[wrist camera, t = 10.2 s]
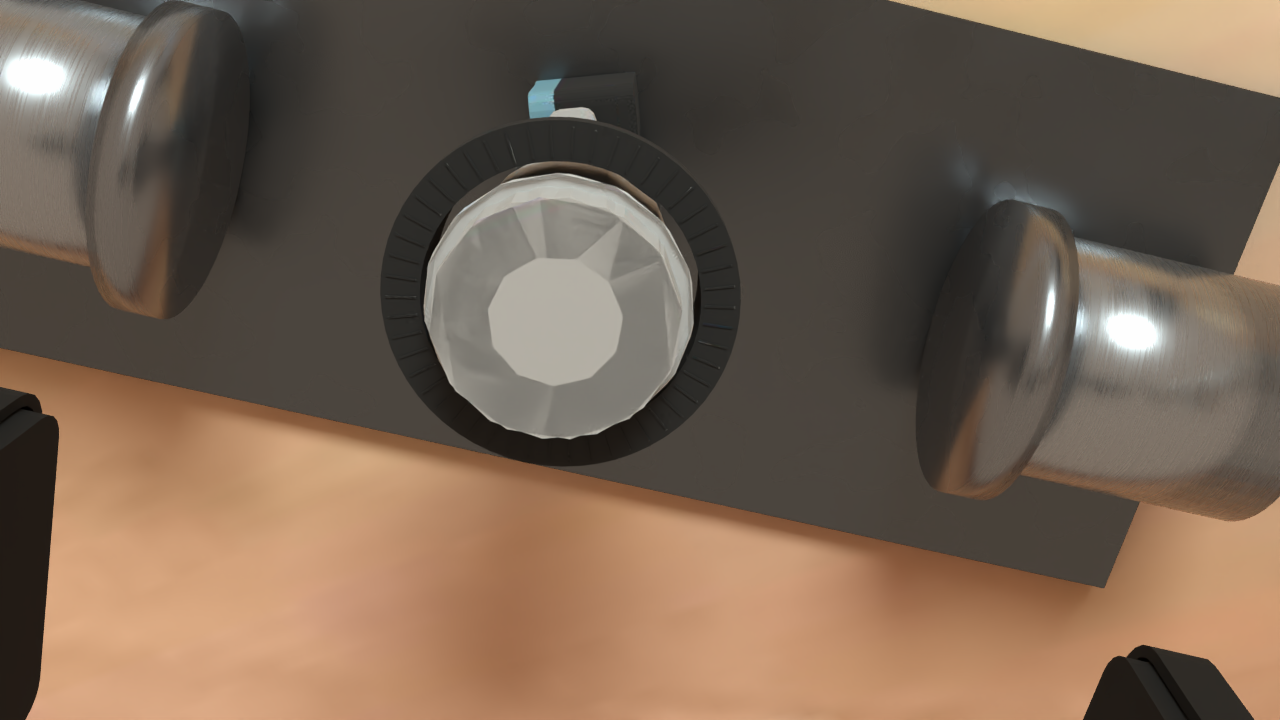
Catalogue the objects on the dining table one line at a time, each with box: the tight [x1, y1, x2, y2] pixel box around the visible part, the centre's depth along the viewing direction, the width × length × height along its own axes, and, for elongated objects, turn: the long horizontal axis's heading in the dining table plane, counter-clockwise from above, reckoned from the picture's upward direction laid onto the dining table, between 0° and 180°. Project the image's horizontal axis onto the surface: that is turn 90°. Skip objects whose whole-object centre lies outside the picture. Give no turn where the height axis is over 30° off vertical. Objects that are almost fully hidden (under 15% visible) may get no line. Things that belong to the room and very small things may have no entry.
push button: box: [380, 72, 741, 467], centre depth 22 cm, size 7×5×10 cm
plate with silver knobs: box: [0, 0, 1280, 588], centre depth 24 cm, size 28×12×6 cm, turn 77°
